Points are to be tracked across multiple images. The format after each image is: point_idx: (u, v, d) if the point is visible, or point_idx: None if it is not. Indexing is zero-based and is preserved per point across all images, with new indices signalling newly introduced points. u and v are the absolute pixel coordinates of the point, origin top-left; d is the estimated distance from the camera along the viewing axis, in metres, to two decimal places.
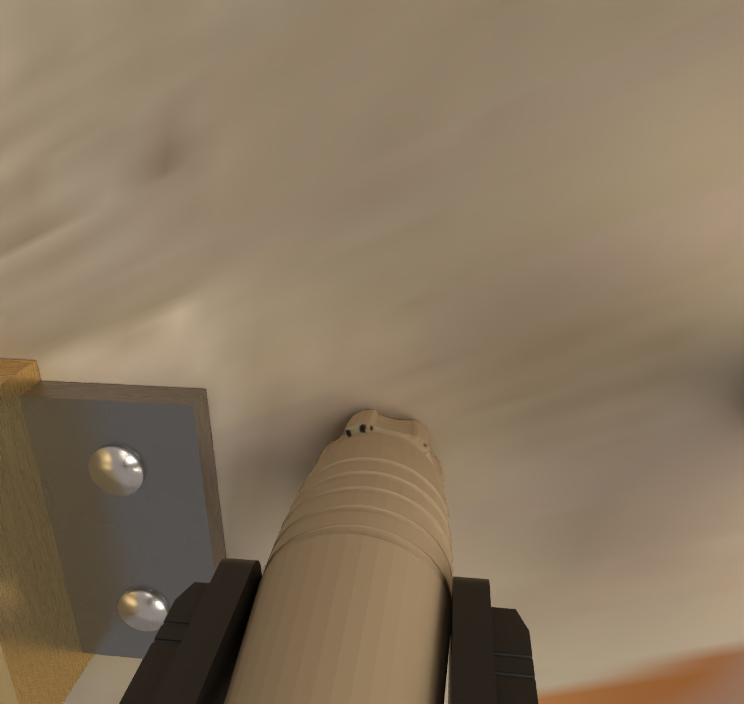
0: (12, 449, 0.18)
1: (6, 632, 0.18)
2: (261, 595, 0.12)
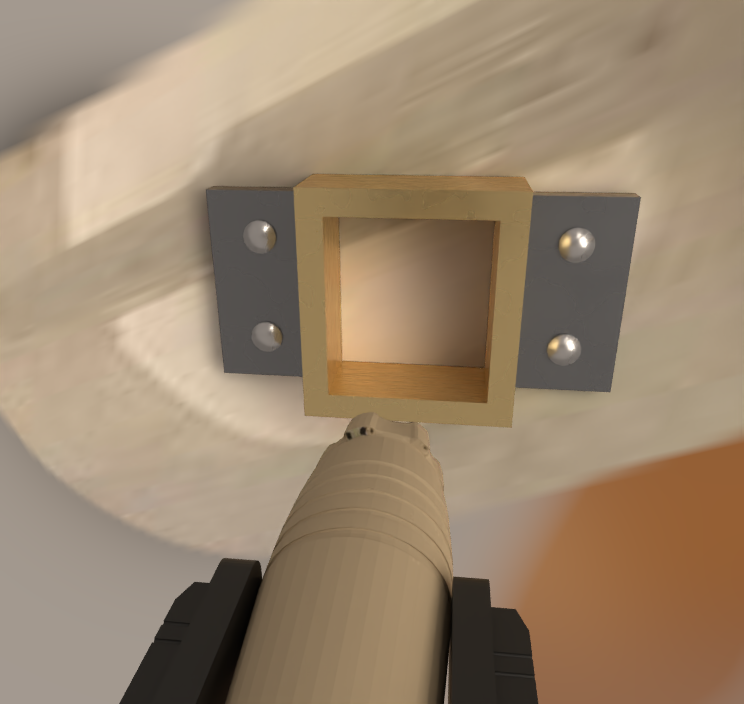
0: None
1: (518, 339, 0.29)
2: (261, 598, 0.12)
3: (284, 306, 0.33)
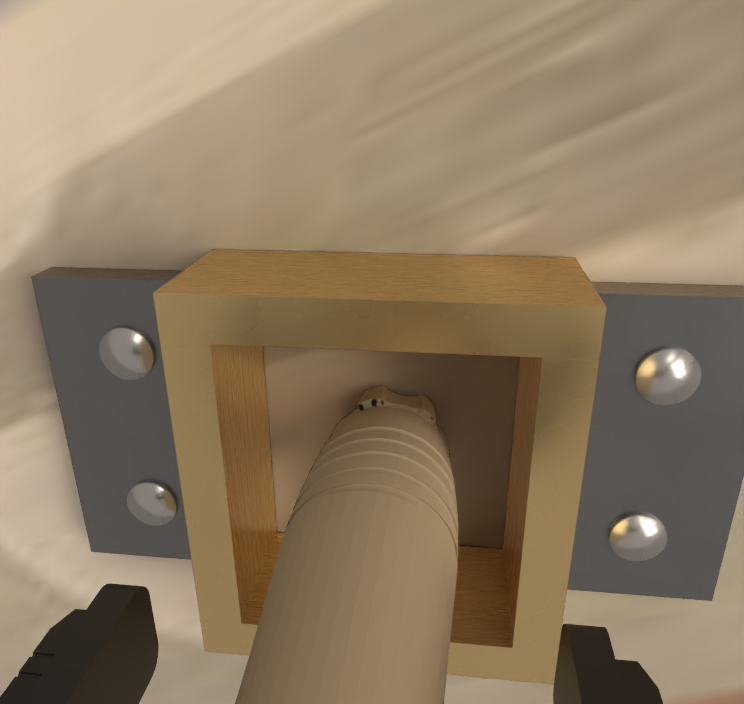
0: None
1: (569, 549, 0.16)
2: (285, 545, 0.14)
3: (176, 459, 0.20)
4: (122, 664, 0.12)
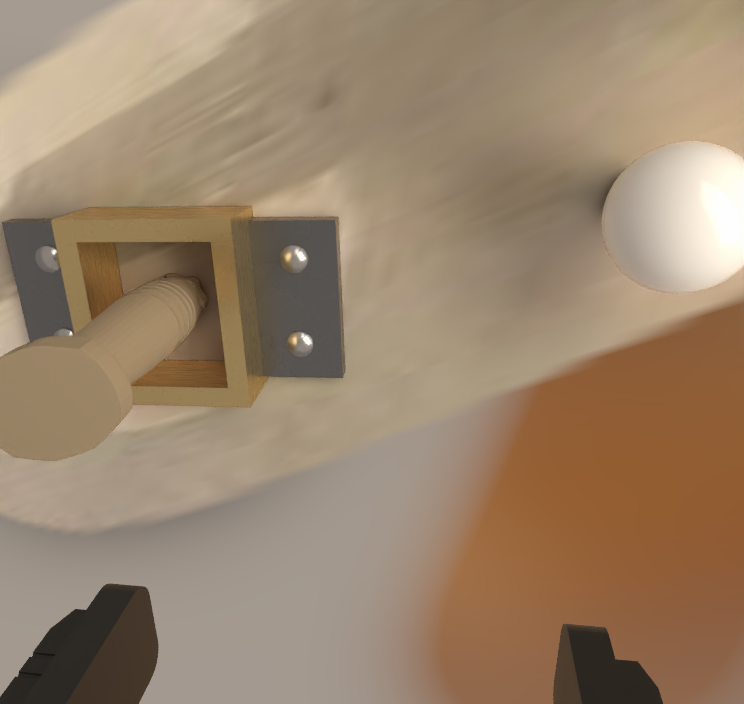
0: (246, 245, 0.37)
1: (244, 335, 0.37)
2: None
3: None
4: (122, 664, 0.12)
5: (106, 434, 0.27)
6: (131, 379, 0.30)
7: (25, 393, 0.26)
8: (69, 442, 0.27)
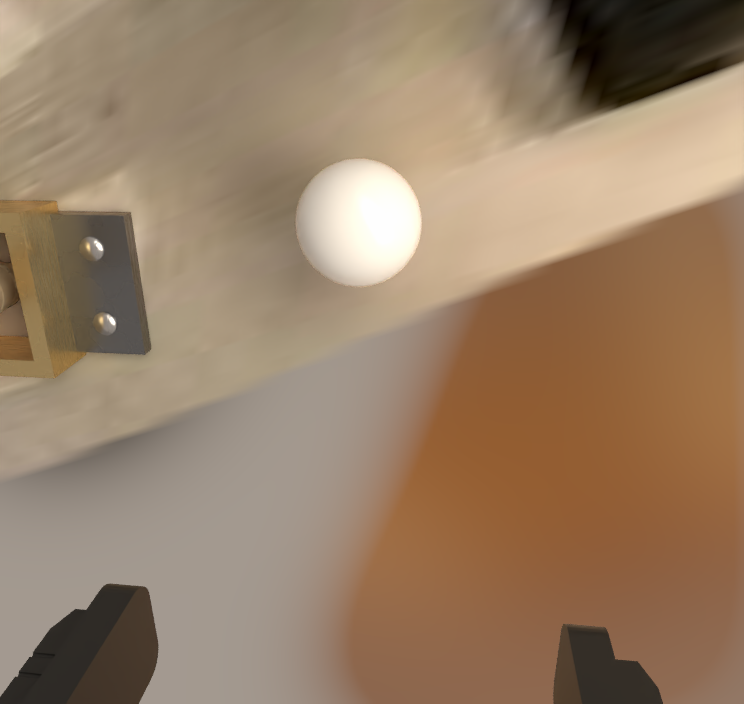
0: (46, 236, 0.42)
1: (44, 314, 0.42)
2: None
3: None
4: (122, 664, 0.12)
5: None
6: None
7: None
8: None
